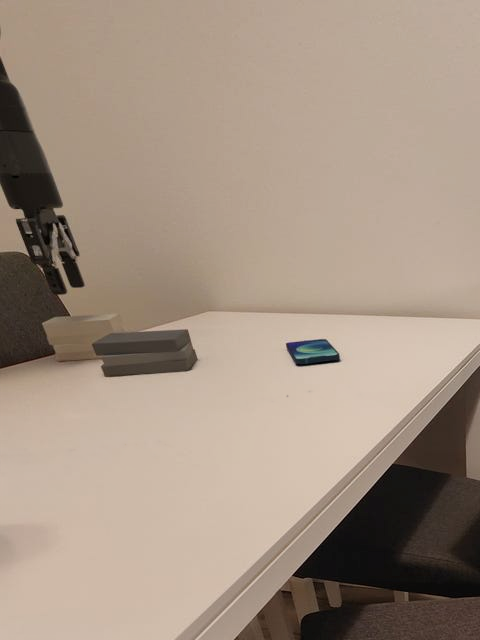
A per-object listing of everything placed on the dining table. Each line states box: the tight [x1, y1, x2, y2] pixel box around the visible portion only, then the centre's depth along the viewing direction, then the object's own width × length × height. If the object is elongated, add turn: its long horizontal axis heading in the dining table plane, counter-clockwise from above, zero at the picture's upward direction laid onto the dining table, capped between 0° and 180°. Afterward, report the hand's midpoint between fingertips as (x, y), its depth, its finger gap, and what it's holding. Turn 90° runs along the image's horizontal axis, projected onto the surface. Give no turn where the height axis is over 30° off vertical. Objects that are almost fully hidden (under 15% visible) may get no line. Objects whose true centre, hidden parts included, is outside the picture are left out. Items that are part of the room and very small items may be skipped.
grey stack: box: [92, 328, 198, 378], centre depth 98 cm, size 14×9×5 cm
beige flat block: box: [41, 313, 125, 338], centre depth 105 cm, size 11×6×2 cm, turn 101°
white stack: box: [46, 327, 126, 362], centre depth 106 cm, size 12×7×4 cm, turn 101°
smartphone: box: [285, 338, 341, 365], centre depth 103 cm, size 8×1×15 cm
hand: (69, 290), depth 101 cm, fingers open, 8 cm apart
